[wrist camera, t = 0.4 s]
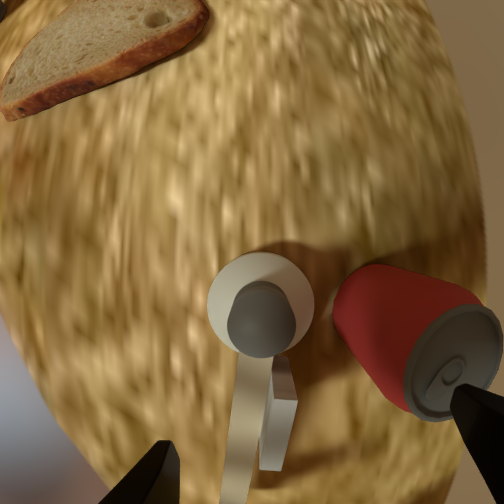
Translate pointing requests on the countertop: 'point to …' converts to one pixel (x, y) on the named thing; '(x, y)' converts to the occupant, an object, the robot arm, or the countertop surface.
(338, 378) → the countertop surface
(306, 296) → the lever base
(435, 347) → the beer can
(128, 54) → the slice of bread
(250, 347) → the lever
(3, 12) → the beverage cup
